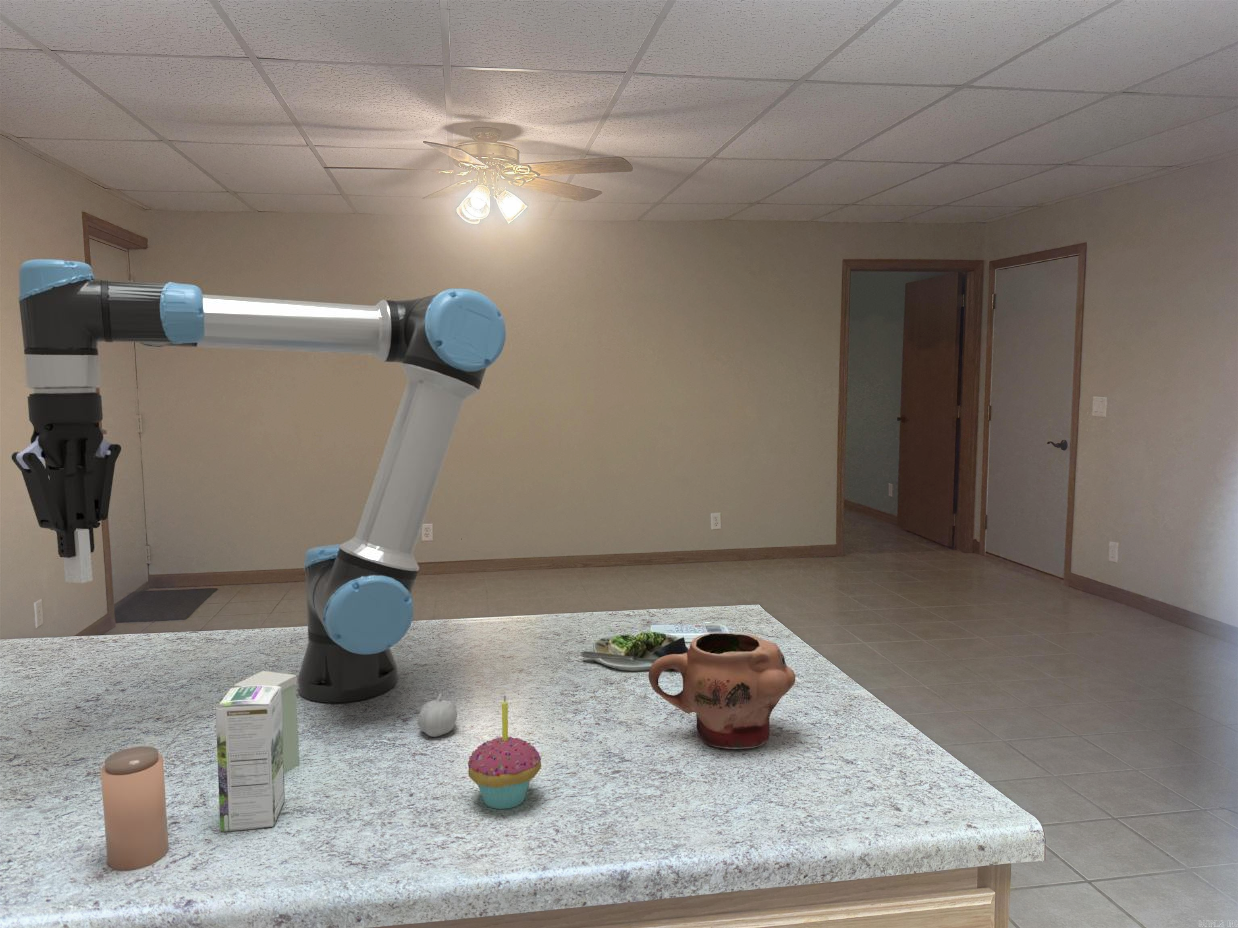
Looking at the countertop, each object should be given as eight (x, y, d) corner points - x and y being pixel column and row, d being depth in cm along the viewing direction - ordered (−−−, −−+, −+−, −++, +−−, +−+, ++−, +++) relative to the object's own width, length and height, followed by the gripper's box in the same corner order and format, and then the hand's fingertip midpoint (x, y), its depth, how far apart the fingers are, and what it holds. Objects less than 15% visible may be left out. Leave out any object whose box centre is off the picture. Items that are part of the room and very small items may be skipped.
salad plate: (586, 681, 138) (586, 653, 138) (574, 645, 156) (574, 621, 155) (700, 674, 141) (700, 647, 141) (676, 640, 159) (677, 616, 158)
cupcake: (472, 783, 103) (469, 689, 102) (541, 780, 104) (540, 686, 103) (465, 820, 95) (463, 718, 93) (541, 816, 95) (540, 715, 94)
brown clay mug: (656, 762, 109) (656, 658, 107) (642, 723, 121) (642, 629, 119) (806, 754, 111) (808, 651, 109) (778, 716, 123) (780, 623, 121)
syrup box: (233, 806, 98) (227, 686, 96) (287, 801, 99) (281, 682, 97) (219, 833, 92) (212, 705, 91) (276, 827, 93) (270, 701, 92)
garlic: (436, 720, 122) (435, 686, 121) (466, 727, 119) (466, 692, 119) (408, 737, 116) (407, 700, 116) (440, 744, 114) (439, 707, 113)
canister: (169, 834, 92) (162, 740, 91) (168, 861, 87) (162, 761, 86) (109, 848, 89) (102, 751, 88) (105, 876, 84) (97, 773, 83)
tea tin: (267, 757, 110) (262, 670, 109) (300, 763, 109) (296, 675, 107) (238, 775, 105) (233, 685, 104) (272, 782, 104) (268, 689, 102)
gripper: (89, 389, 109) (102, 567, 112) (-13, 392, 97) (4, 591, 100) (134, 390, 107) (146, 571, 110) (36, 392, 95) (52, 596, 97)
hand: (79, 580), depth 105 cm, fingers closed
